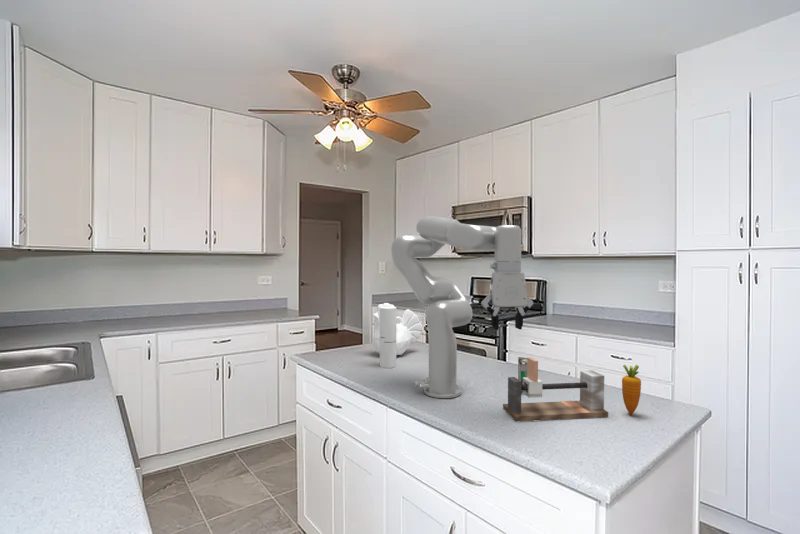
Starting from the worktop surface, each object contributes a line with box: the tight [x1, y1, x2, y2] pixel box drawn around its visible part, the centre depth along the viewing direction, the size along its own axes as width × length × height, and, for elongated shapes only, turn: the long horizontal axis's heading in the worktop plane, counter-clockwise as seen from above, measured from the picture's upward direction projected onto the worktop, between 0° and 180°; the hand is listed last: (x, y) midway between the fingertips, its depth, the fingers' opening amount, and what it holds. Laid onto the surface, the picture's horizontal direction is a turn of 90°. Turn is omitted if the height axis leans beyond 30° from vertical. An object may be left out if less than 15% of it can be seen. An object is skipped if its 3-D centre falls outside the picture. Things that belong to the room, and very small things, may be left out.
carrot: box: [621, 364, 642, 416], centre depth 122 cm, size 5×5×15 cm
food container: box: [517, 356, 528, 394], centre depth 145 cm, size 12×6×10 cm, turn 168°
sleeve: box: [521, 356, 543, 399], centre depth 122 cm, size 4×5×11 cm
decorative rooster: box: [372, 302, 423, 356], centre depth 197 cm, size 25×16×25 cm, turn 102°
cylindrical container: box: [379, 306, 398, 369], centre depth 176 cm, size 7×7×25 cm
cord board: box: [502, 370, 609, 423], centre depth 123 cm, size 28×10×12 cm, turn 97°
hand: (507, 328), depth 121 cm, fingers open, 6 cm apart
